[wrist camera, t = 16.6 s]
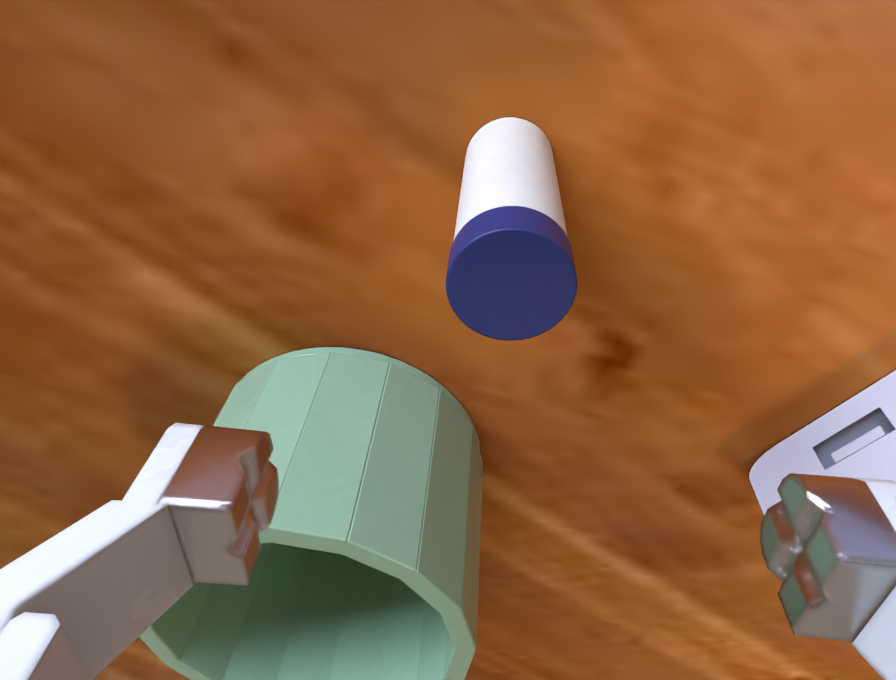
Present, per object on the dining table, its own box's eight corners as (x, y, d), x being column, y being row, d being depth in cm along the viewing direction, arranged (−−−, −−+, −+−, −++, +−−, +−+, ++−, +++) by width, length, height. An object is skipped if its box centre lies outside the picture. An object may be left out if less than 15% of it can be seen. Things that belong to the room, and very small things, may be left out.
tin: (167, 418, 30) (54, 600, 23) (369, 298, 26) (310, 477, 18) (338, 558, 36) (294, 742, 28) (530, 481, 31) (539, 677, 23)
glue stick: (446, 148, 22) (419, 271, 15) (524, 96, 21) (534, 203, 14) (495, 218, 23) (491, 360, 16) (570, 173, 22) (600, 305, 15)
